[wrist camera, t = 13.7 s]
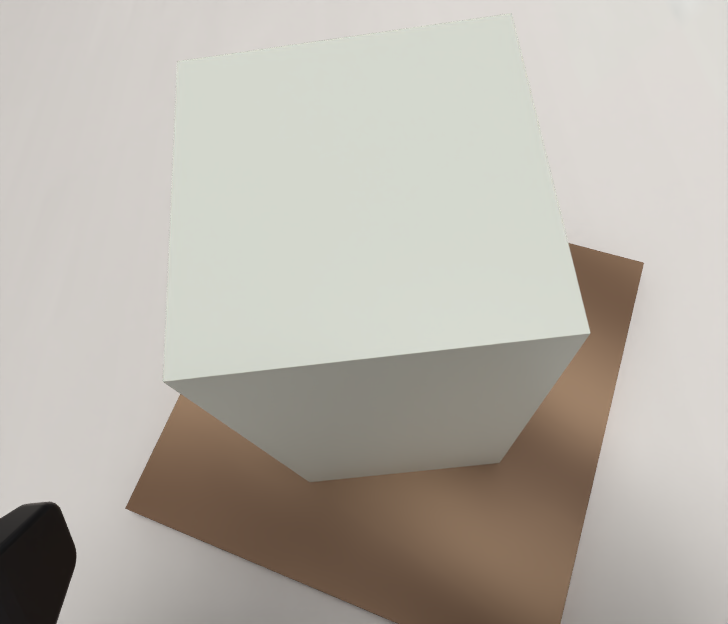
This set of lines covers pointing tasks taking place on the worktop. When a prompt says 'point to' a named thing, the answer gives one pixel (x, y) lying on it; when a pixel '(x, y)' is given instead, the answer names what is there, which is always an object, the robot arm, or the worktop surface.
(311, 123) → the pale green box
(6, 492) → the worktop surface
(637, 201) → the worktop surface
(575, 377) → the flat brown board
